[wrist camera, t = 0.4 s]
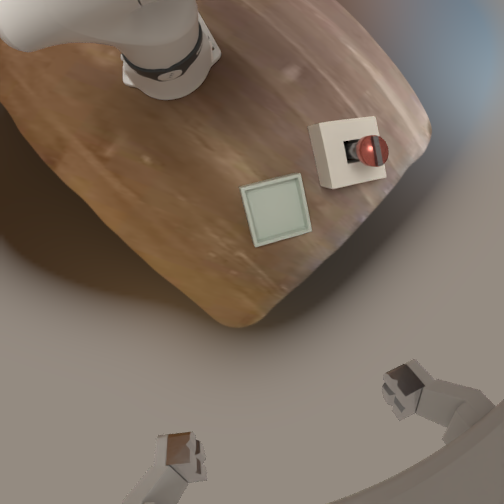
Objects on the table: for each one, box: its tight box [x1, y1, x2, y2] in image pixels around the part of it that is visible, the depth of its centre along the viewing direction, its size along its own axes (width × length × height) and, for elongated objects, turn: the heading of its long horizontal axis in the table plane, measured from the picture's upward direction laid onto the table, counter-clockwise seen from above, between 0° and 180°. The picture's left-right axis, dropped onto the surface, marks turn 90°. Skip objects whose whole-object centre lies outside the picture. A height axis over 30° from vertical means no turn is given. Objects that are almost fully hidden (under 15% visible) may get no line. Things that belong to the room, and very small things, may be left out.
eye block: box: [307, 116, 386, 189], centre depth 50 cm, size 12×12×6 cm
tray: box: [239, 173, 312, 247], centre depth 53 cm, size 11×11×3 cm
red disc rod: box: [344, 135, 388, 167], centre depth 46 cm, size 5×5×14 cm
